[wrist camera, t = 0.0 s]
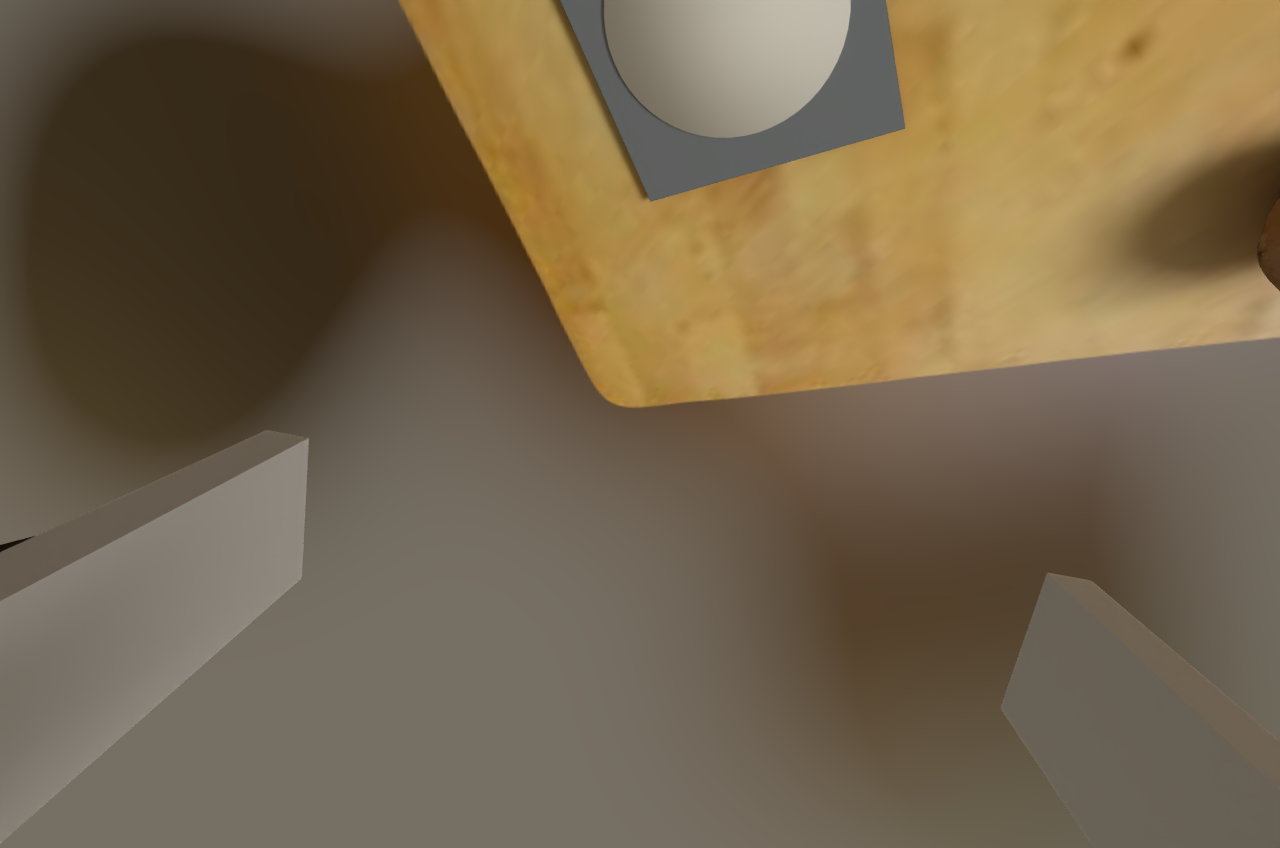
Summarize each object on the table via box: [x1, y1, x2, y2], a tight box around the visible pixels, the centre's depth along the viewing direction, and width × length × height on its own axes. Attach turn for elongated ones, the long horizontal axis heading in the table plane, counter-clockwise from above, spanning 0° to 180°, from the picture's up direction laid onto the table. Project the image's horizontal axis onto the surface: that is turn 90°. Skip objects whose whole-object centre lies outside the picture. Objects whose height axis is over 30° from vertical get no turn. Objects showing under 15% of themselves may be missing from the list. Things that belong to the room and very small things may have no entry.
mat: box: [560, 0, 905, 202], centre depth 39 cm, size 18×16×1 cm
